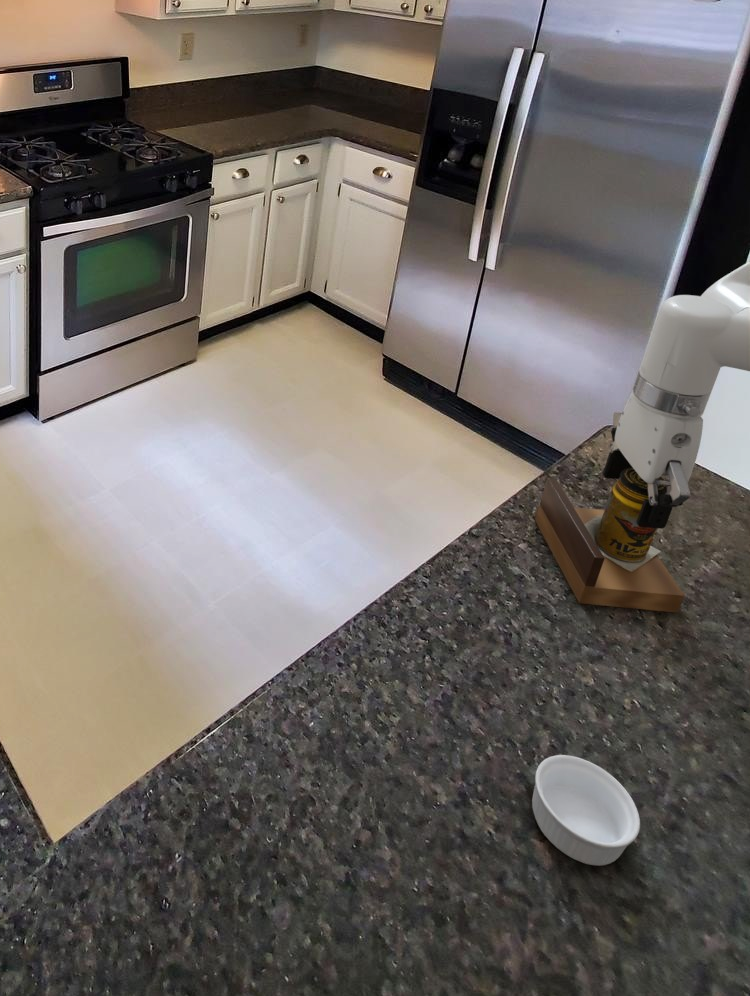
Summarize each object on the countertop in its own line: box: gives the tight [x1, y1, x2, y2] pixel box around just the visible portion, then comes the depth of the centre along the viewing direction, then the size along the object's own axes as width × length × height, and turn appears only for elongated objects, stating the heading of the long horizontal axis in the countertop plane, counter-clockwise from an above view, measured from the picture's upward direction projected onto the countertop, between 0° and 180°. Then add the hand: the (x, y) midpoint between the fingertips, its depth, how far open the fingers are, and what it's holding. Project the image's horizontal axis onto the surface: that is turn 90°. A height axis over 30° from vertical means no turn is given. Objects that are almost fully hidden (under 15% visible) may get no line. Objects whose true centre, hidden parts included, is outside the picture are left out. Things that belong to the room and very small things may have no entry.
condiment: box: [584, 467, 667, 572], centre depth 108 cm, size 7×8×12 cm
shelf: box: [534, 477, 686, 614], centre depth 109 cm, size 12×16×8 cm
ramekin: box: [531, 754, 641, 866], centre depth 78 cm, size 9×9×4 cm
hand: (631, 500), depth 106 cm, fingers open, 9 cm apart
